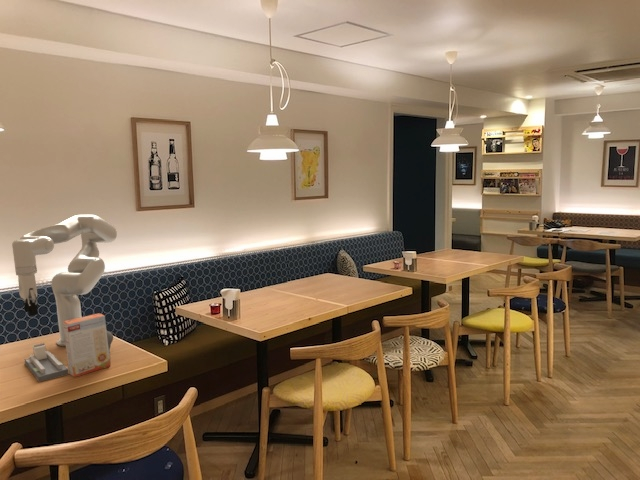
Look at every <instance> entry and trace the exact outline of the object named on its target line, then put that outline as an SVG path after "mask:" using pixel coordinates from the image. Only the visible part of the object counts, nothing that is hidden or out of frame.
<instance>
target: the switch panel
mask: <svg viewBox="0 0 640 480" xmlns="http://www.w3.org/2000/svg"><path fill="white" fill-rule="evenodd" d="M46 354H47V358H46V359H42V360H37V359H36V358H35V357H34V354H29V357H28V358H25V359H24V365H25V366H26V367H27V368H28V370H29V371H30V372H31V373H32V375H33V376H34V377H35V378H36V379H37V381H38V383H39V382H43V381H48V380H52V379H55V378H59V377H60V378H61V377H63V376H67V375H69V368H67V366H66V365H64V364H63V363H62V361H61V360H60V359H58V357H57V356H56V355H55V354H54V353H52V352H50V351H49V350H46Z"/></svg>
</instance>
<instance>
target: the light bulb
mask: <svg viewBox="0 0 640 480" xmlns="http://www.w3.org/2000/svg"><path fill="white" fill-rule="evenodd" d="M107 339H108V348H109V354H111V345H112V342H113V340H114V335H113V333H112V332H110V331H109V330H107Z"/></svg>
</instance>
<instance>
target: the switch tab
mask: <svg viewBox="0 0 640 480" xmlns="http://www.w3.org/2000/svg"><path fill="white" fill-rule="evenodd" d="M45 344H46V343H45V342H43V343H42V342H41V343H39V344H37V343H36V344H33V345H32V350H33V356H34V357H35V358H36V359H37V360H42V359H46V358H47V354H46V351H47V346H46V345H45Z"/></svg>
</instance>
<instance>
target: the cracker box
mask: <svg viewBox="0 0 640 480" xmlns="http://www.w3.org/2000/svg"><path fill="white" fill-rule="evenodd" d="M63 328H64V336H65V344H66V346H65V350H66V358H67V365H68V368H67V369H68V374H70V376H72V377H73V378H76V377H79V376H82V375H86V374H89V373H93V372H96V371H100V370H102V369H106V368H109V367H111V361H110V360H111V358H110V357H111V356H110V353H109V348H108V339H107V331H108V330H107V324H106V316H105V315H104V314H103V313H94V314H89V315H86V316H82V317H81V318H76V319H72V320H67V321H63Z"/></svg>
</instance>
